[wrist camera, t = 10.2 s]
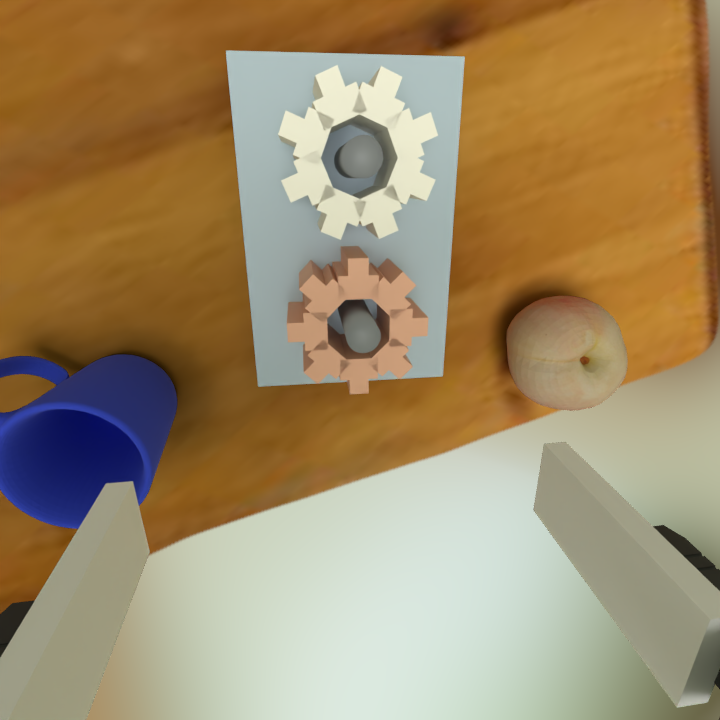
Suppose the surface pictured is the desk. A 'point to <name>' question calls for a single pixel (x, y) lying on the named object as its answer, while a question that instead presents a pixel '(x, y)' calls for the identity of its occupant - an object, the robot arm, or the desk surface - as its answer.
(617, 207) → the desk surface
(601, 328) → the fruit
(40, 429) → the mug
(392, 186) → the gear
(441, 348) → the gear board
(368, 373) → the loose gear
